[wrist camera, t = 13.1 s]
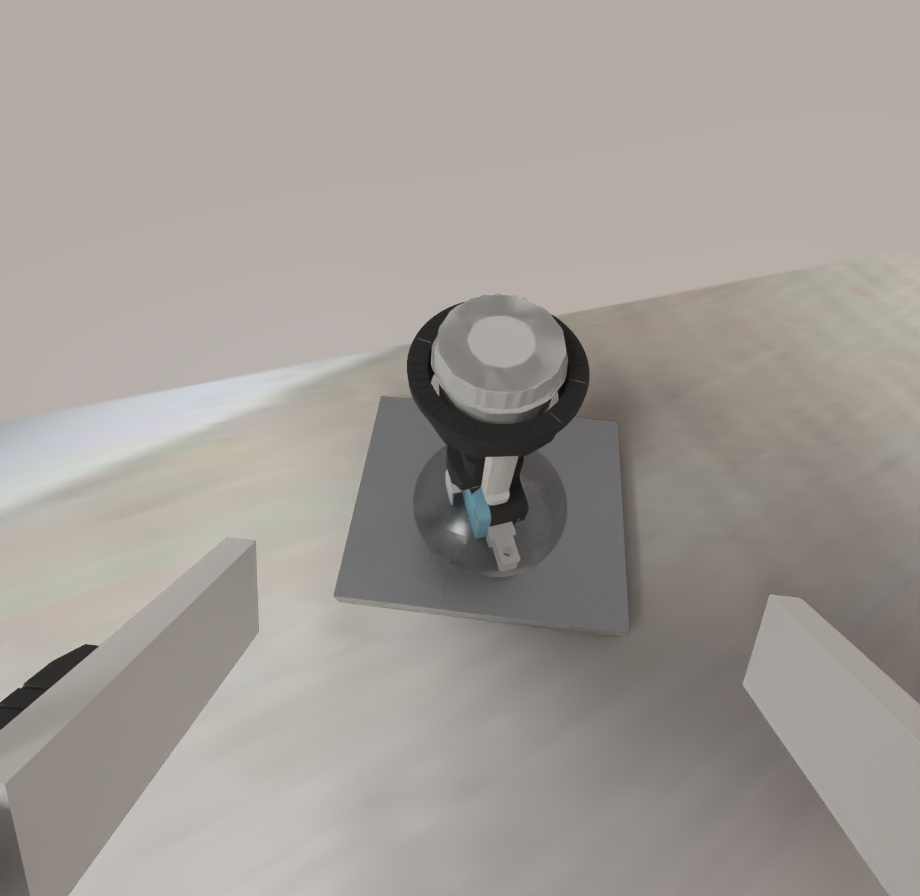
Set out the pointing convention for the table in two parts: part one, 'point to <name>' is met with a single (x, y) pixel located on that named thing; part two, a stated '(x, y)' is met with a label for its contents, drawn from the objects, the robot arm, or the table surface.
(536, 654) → the table surface
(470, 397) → the push button
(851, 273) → the table surface
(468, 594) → the flange plate
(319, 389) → the table surface
